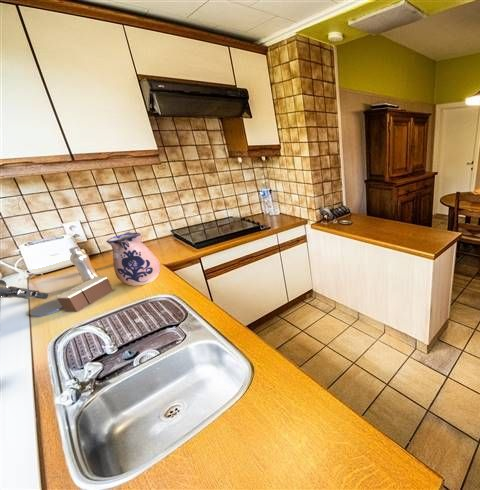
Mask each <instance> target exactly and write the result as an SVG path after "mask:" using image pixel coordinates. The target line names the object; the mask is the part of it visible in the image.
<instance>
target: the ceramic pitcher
mask: <svg viewBox="0 0 480 490" xmlns="http://www.w3.org/2000/svg"><path fill="white" fill-rule="evenodd" d="M141 236H142V233H140V232H130V231H127V232H125V233H122V234H119V235H116V236H113V237H109V238H108V239H107V240H106V243H107V244H109V245H110V246H111V249H112V261H113V270H114V273H115V276H116V277H117V279H118V280H119V281H120V282H122V283H124V284H125V285H128V286H132V287H133V286H134V287H139V286H143V285H147V284H150V283H152V282H153V281H155V280H156V279H157V278H158V277H159V276H160V275H159V274H160V272H161V269H162V266H161V262H160V261H159V259H158V257H157V256H156V255H155V254H154V253H153V252H152V251H151V250H150V249H149V248H148V246H147V245H146V244H144V242H143V241H142V240H141Z"/></svg>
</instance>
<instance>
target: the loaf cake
mask: <svg viewBox="0 0 480 490" xmlns="http://www.w3.org/2000/svg"><path fill="white" fill-rule="evenodd" d="M69 290H81V291H82V293H83V295H84V297H85V298H86V300H87V302H88V303H89V305H91V304H93V303H95V302H96V301H98V300H101V298H103V297H105V296H107V295H108V294H110V293H112V292H114V288H113V287H112V284H111V283H110V281H109V279H108V277H107V276H100V277H94V278H92V279H90V280H88V281H86V282H84V283H83V282H82V283H80V284H78V285H76V286H74V287H72V288H70V289H69Z"/></svg>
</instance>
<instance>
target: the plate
mask: <svg viewBox="0 0 480 490" xmlns="http://www.w3.org/2000/svg"><path fill="white" fill-rule="evenodd" d="M62 310H64V309H63V307H62V305H61V304H60V302H59V301H58V299H57V298H56V299H52V300H50V301H47V302H45V303H42V304H40V305H38V306H36V307H34V308H33V309H31V310H30V312H29V316H30V317H32V318H38V317H39V318H40V317H44V316H47V315H51V314H54V313H57V312H59V311H62Z"/></svg>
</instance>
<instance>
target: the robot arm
mask: <svg viewBox="0 0 480 490" xmlns="http://www.w3.org/2000/svg"><path fill="white" fill-rule="evenodd" d="M48 297H49V293H47V292H42V291H40V290H35V289H29V288H24V287H17V286H7V282H6V281H5V280H3V279H0V299H1V298H3V299H14V298H17V299H24V300H27V299H30V298H31V299H39V300H47V299H48Z"/></svg>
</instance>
